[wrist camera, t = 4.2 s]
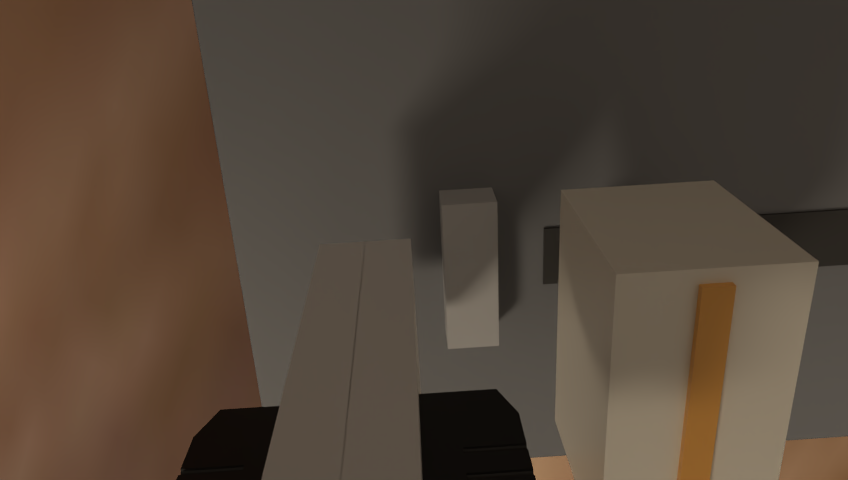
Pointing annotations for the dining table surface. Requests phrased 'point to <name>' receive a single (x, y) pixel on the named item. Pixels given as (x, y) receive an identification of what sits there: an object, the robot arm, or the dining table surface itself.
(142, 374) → the dining table surface
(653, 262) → the fader knob
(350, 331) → the robot arm
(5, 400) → the dining table surface
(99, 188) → the dining table surface
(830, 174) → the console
